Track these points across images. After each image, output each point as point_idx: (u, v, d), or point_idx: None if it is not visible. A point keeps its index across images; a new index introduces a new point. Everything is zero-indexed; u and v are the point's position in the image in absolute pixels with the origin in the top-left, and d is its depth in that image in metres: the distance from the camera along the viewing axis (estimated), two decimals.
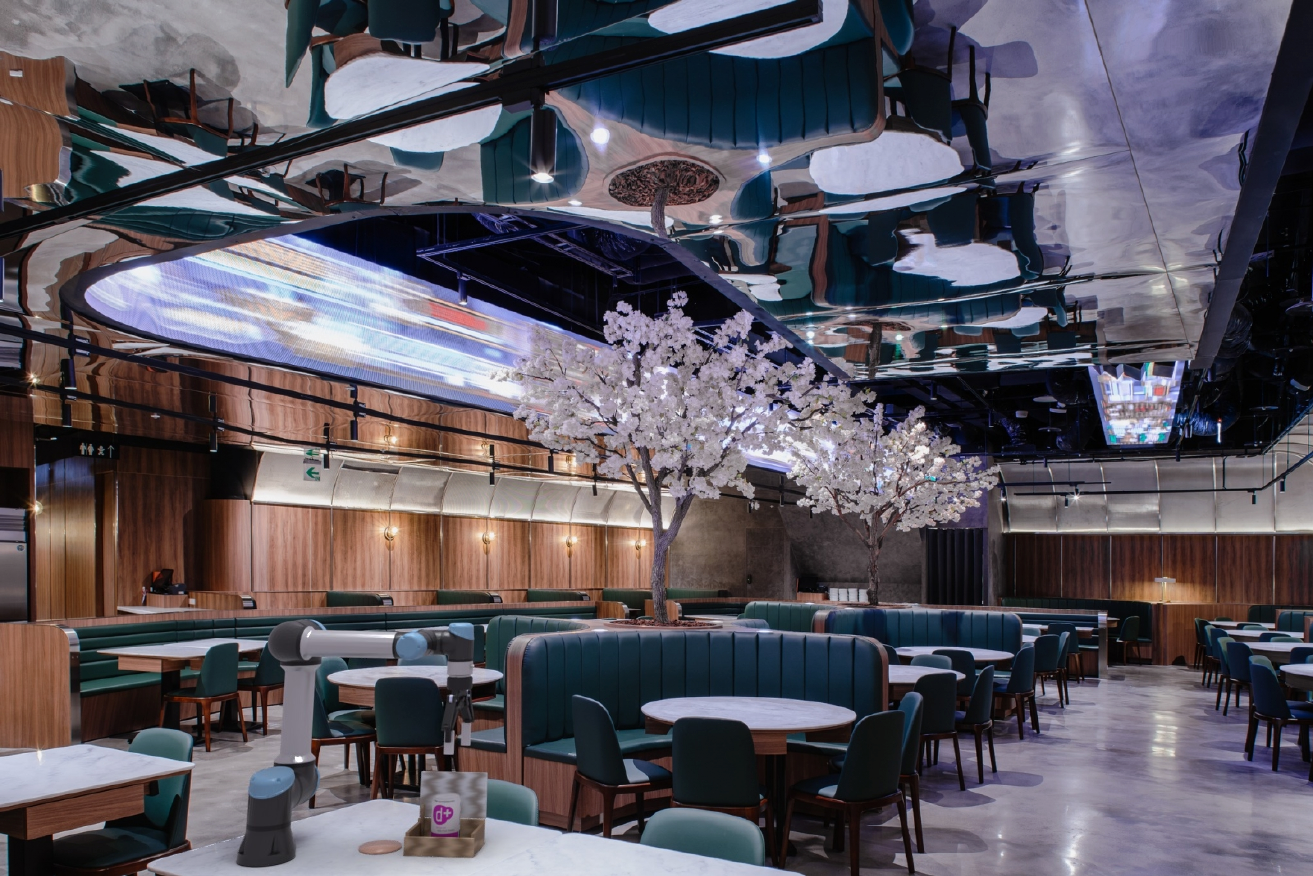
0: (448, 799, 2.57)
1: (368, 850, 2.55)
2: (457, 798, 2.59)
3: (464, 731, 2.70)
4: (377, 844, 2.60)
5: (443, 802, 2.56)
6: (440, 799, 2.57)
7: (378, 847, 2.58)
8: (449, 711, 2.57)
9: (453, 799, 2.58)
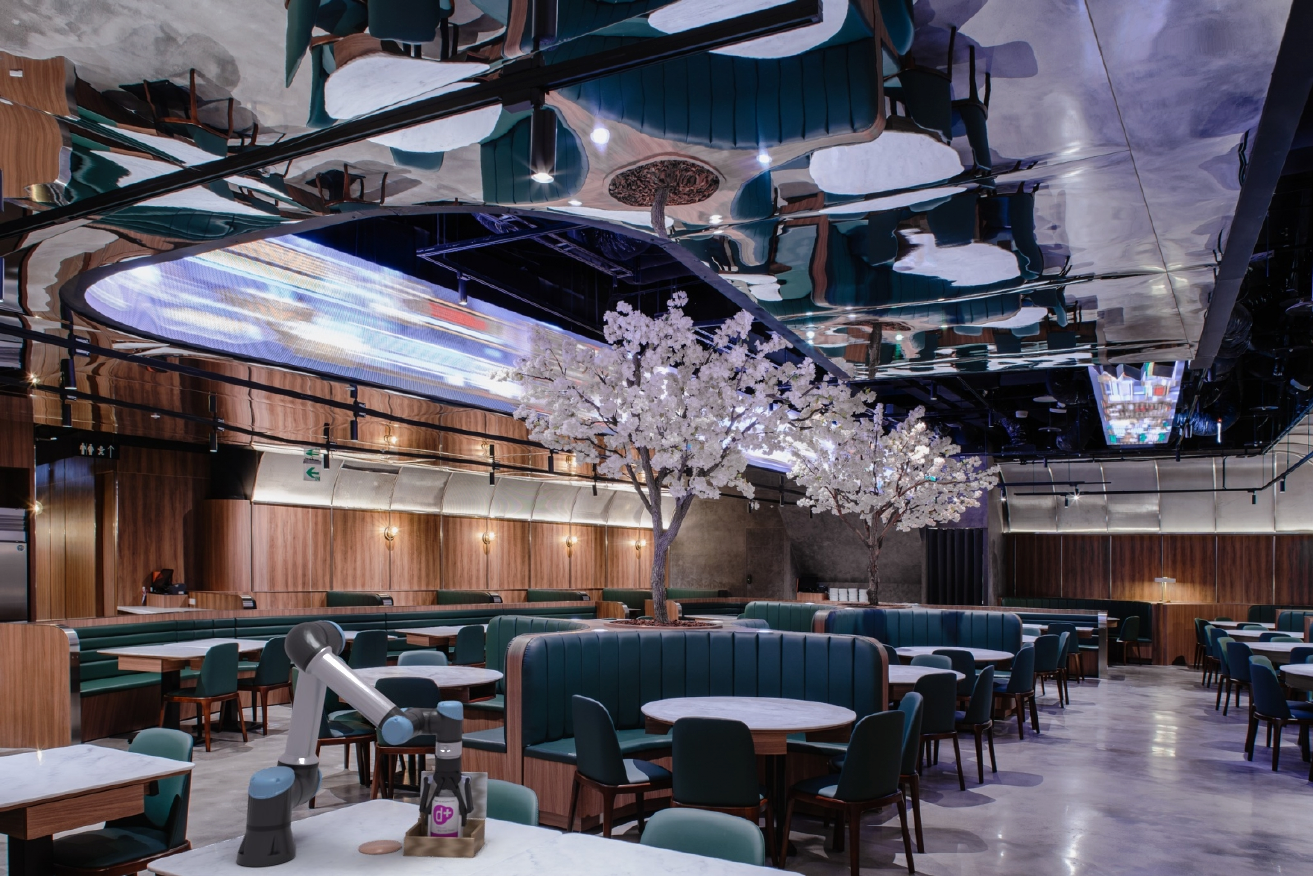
0: (448, 799, 2.57)
1: (368, 850, 2.55)
2: None
3: None
4: (377, 844, 2.60)
5: (443, 802, 2.56)
6: (440, 799, 2.57)
7: (378, 847, 2.58)
8: None
9: (453, 799, 2.58)
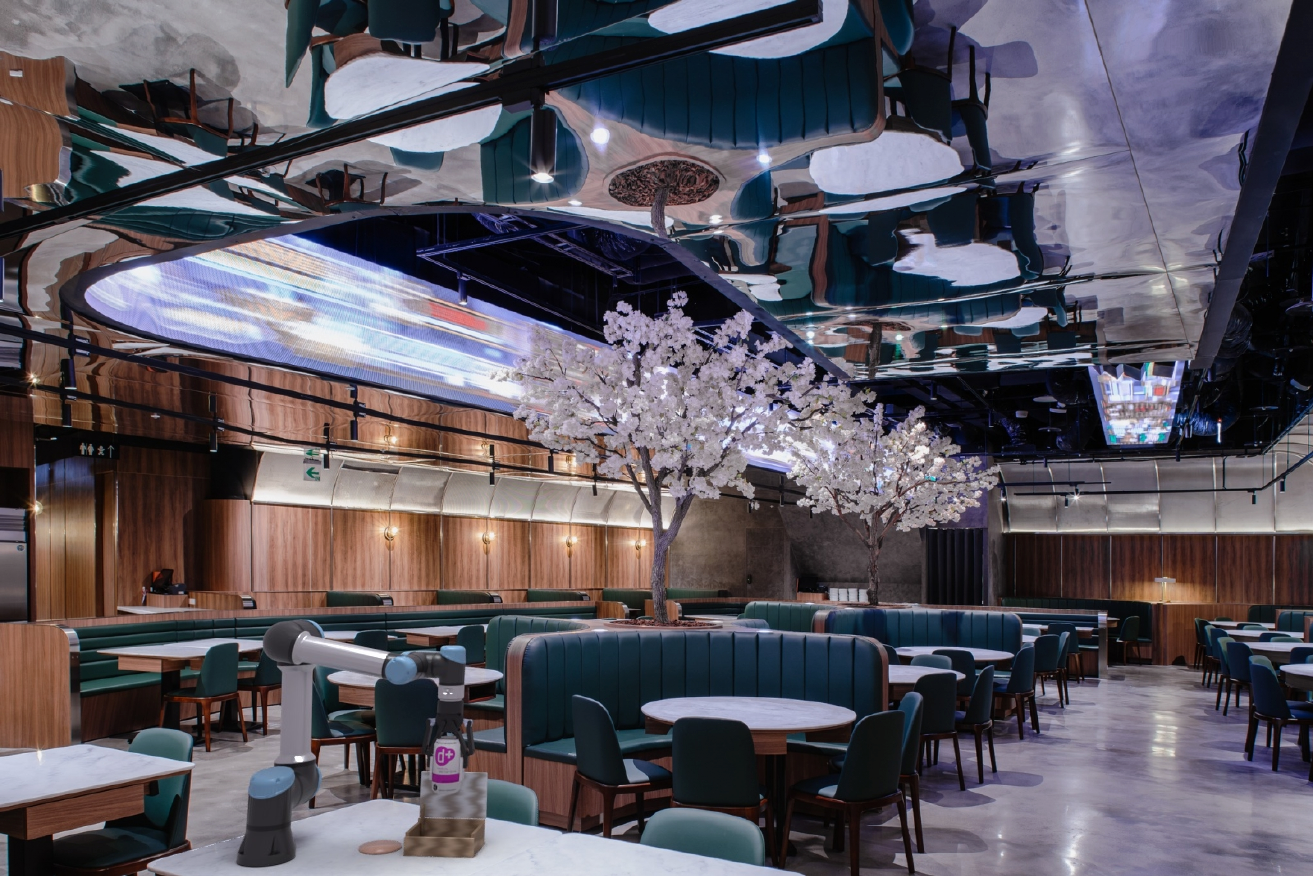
0: (450, 741, 2.59)
1: (368, 850, 2.55)
2: None
3: None
4: (377, 844, 2.60)
5: (445, 743, 2.59)
6: (442, 741, 2.59)
7: (378, 847, 2.58)
8: None
9: (455, 741, 2.60)
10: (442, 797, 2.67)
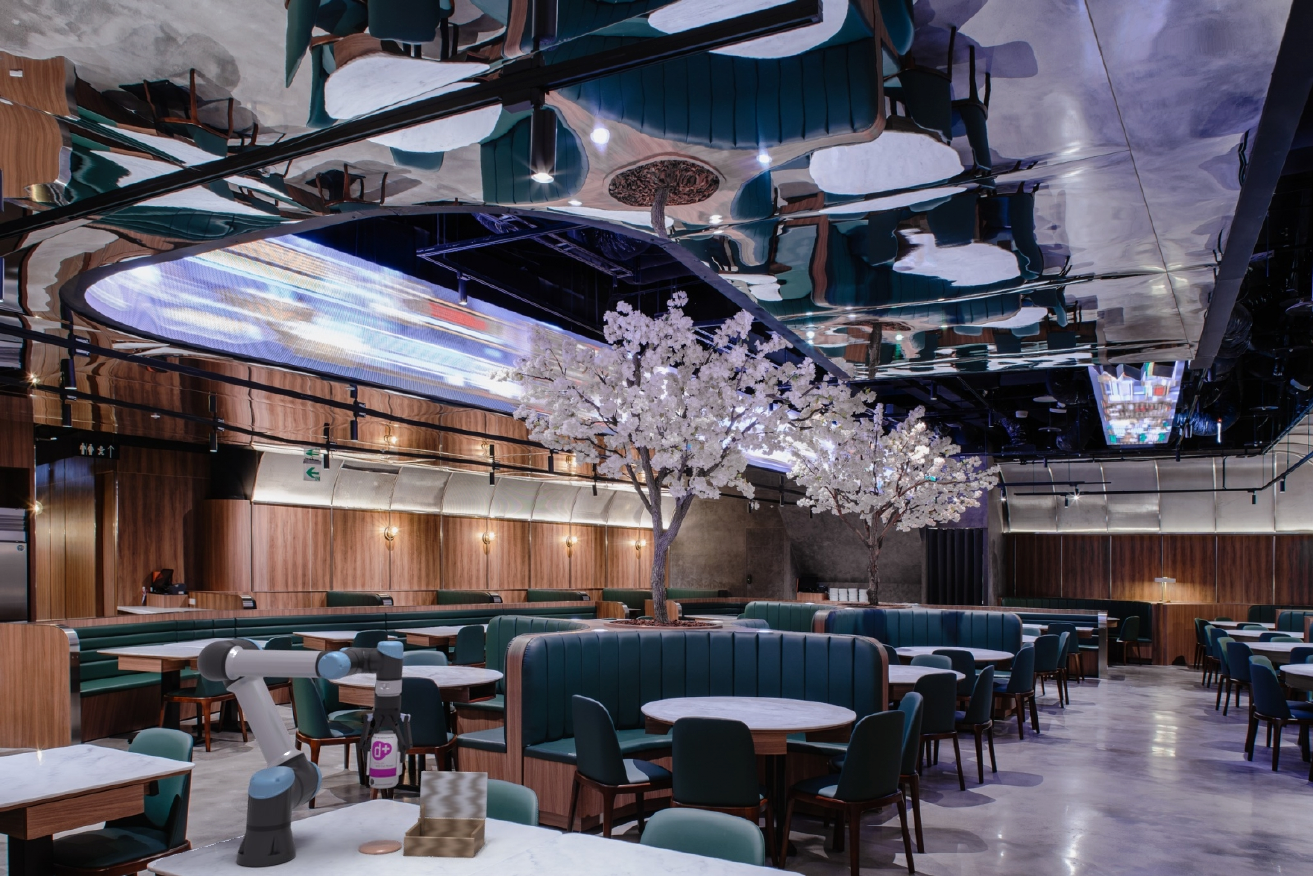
0: (387, 735, 2.61)
1: (368, 850, 2.55)
2: None
3: None
4: (377, 844, 2.60)
5: (381, 738, 2.60)
6: (379, 735, 2.61)
7: (378, 847, 2.58)
8: None
9: (392, 735, 2.61)
10: (442, 797, 2.67)
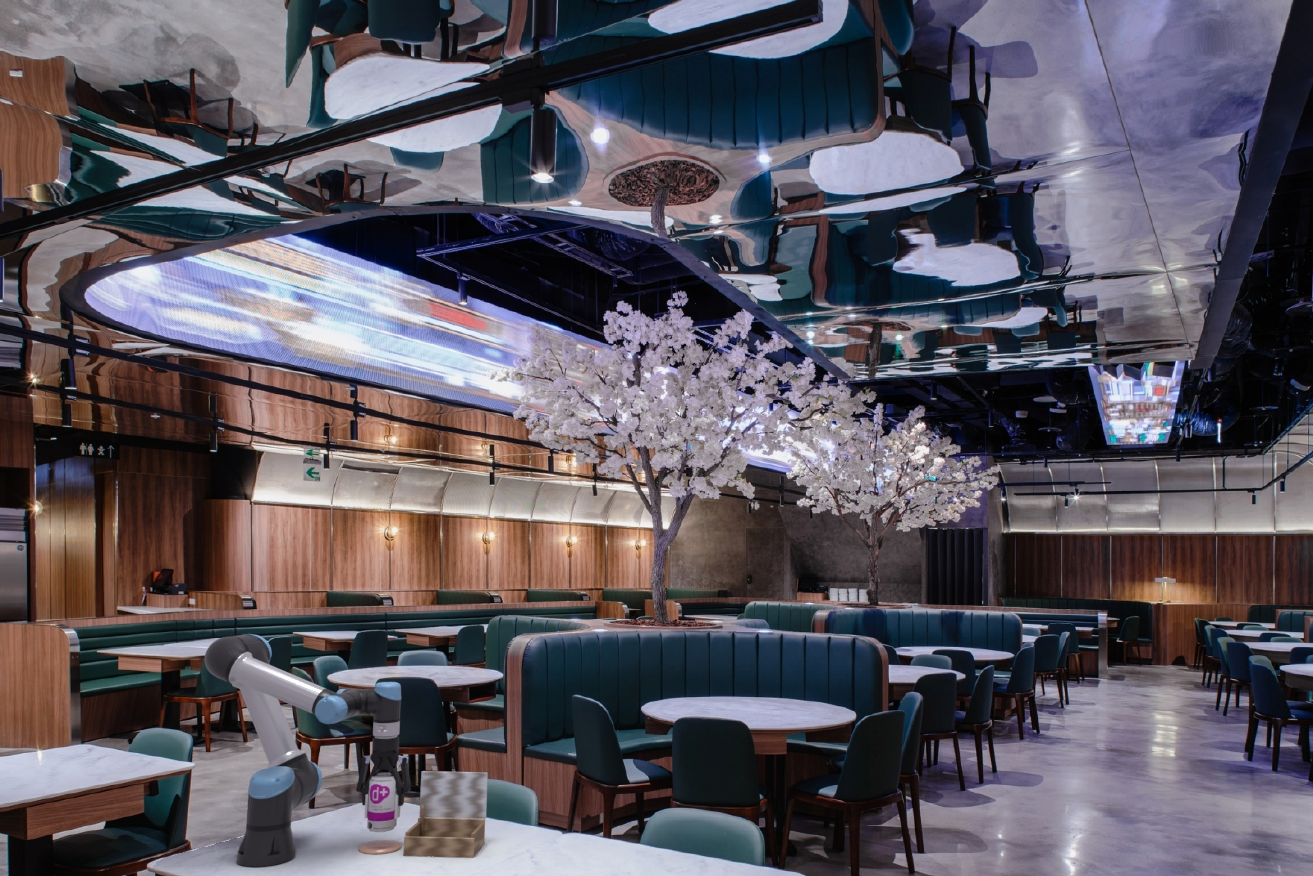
0: (385, 778, 2.59)
1: (368, 850, 2.55)
2: None
3: None
4: (377, 844, 2.60)
5: (379, 781, 2.58)
6: (377, 778, 2.59)
7: (378, 847, 2.58)
8: None
9: (390, 778, 2.60)
10: (442, 797, 2.67)
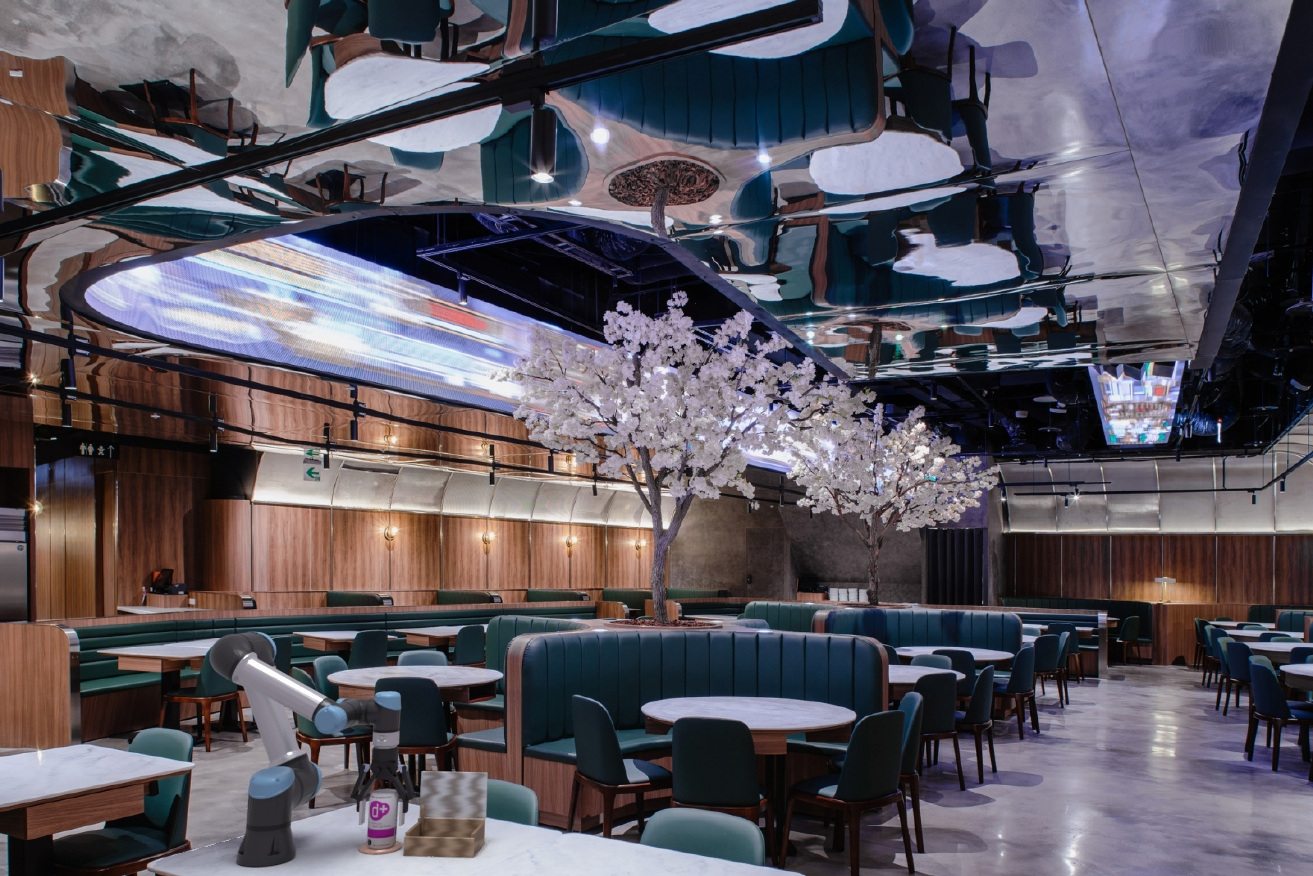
0: (384, 795, 2.58)
1: (368, 850, 2.55)
2: (394, 794, 2.60)
3: None
4: None
5: (379, 798, 2.58)
6: (377, 795, 2.58)
7: None
8: None
9: (390, 795, 2.59)
10: (442, 797, 2.67)
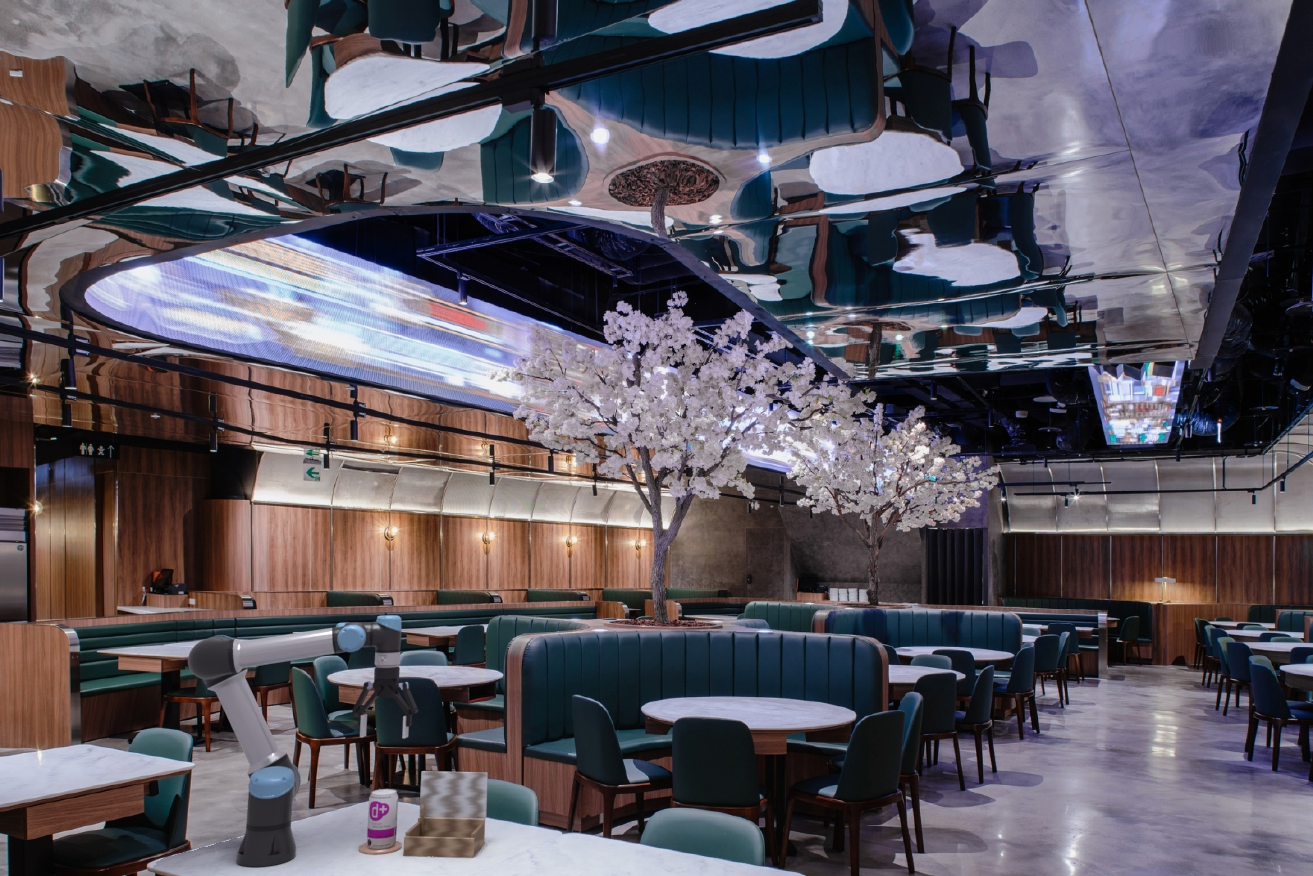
0: (384, 795, 2.58)
1: (368, 850, 2.55)
2: (394, 794, 2.60)
3: None
4: None
5: (379, 798, 2.57)
6: (376, 795, 2.58)
7: None
8: None
9: (389, 795, 2.59)
10: (442, 797, 2.67)
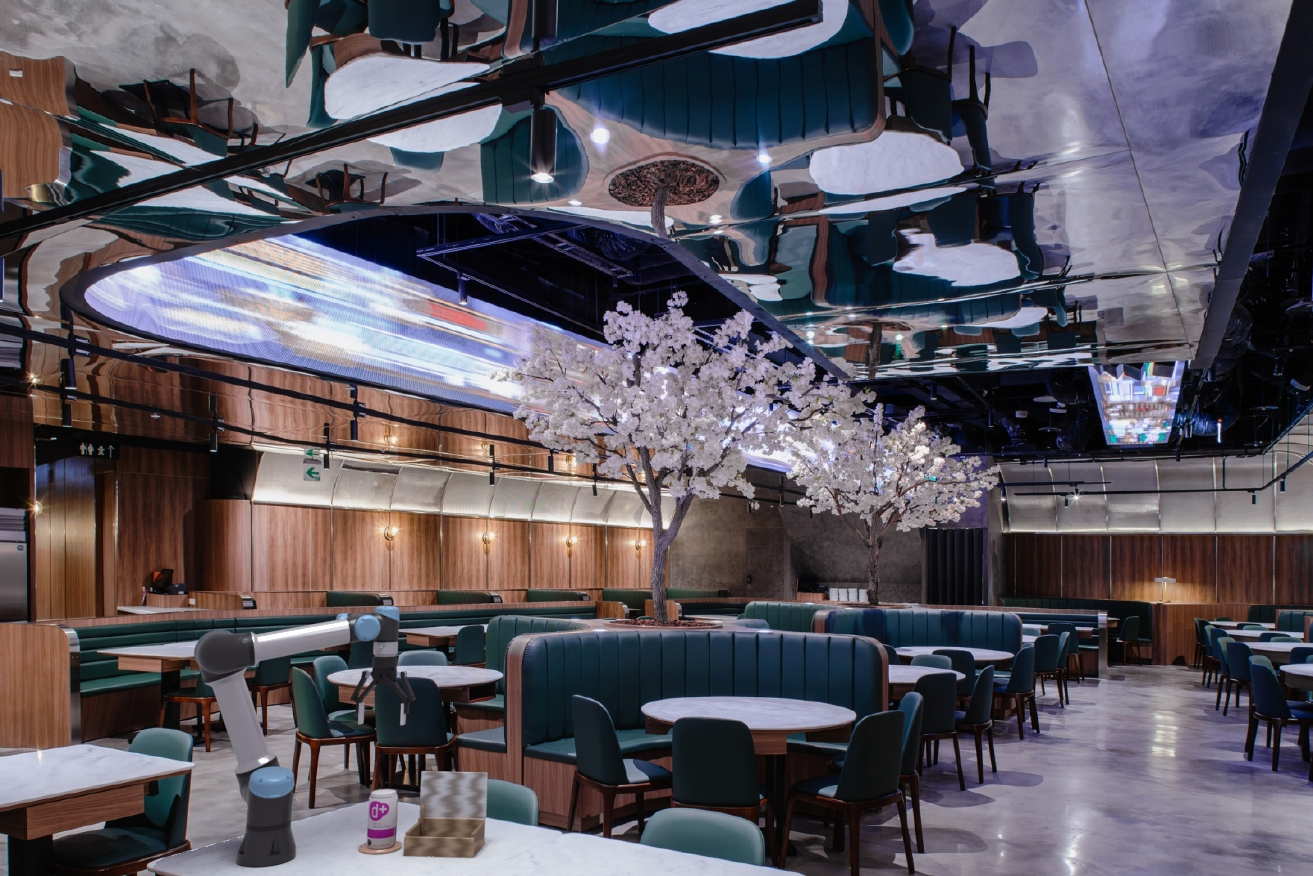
0: (384, 795, 2.58)
1: (368, 850, 2.55)
2: (394, 794, 2.60)
3: None
4: None
5: (379, 798, 2.58)
6: (376, 795, 2.58)
7: None
8: None
9: (389, 795, 2.59)
10: (442, 797, 2.67)
